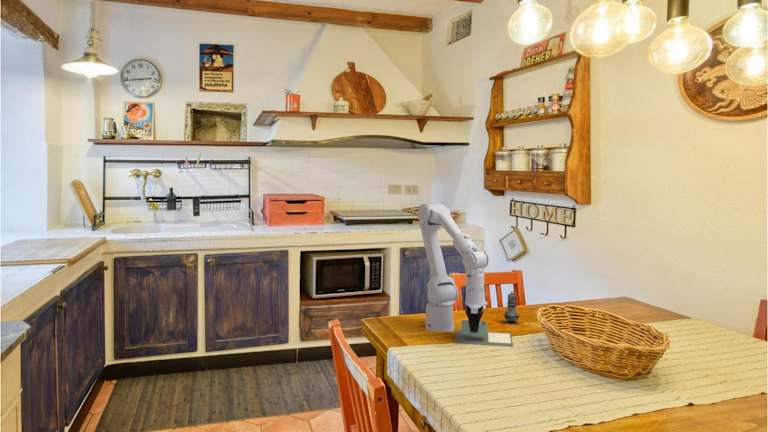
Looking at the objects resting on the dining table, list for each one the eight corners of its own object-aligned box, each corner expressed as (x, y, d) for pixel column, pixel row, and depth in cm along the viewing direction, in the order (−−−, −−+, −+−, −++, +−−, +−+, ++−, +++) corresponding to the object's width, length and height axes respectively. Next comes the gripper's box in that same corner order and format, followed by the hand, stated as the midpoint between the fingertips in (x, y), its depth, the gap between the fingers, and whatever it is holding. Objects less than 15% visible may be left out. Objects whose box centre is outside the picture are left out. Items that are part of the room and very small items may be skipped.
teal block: (461, 334, 158) (461, 323, 158) (461, 330, 162) (461, 319, 162) (486, 335, 157) (487, 324, 156) (486, 331, 161) (486, 321, 160)
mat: (454, 344, 156) (454, 342, 156) (456, 331, 170) (456, 329, 169) (513, 348, 152) (513, 346, 152) (510, 335, 166) (510, 332, 166)
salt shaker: (513, 326, 175) (513, 293, 175) (499, 323, 180) (500, 290, 179) (523, 323, 179) (523, 291, 178) (509, 320, 184) (510, 288, 183)
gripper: (488, 293, 151) (487, 337, 152) (487, 284, 165) (486, 324, 166) (464, 292, 152) (463, 336, 153) (465, 283, 166) (465, 322, 167)
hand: (474, 329), depth 159 cm, fingers closed on teal block, 4 cm apart
